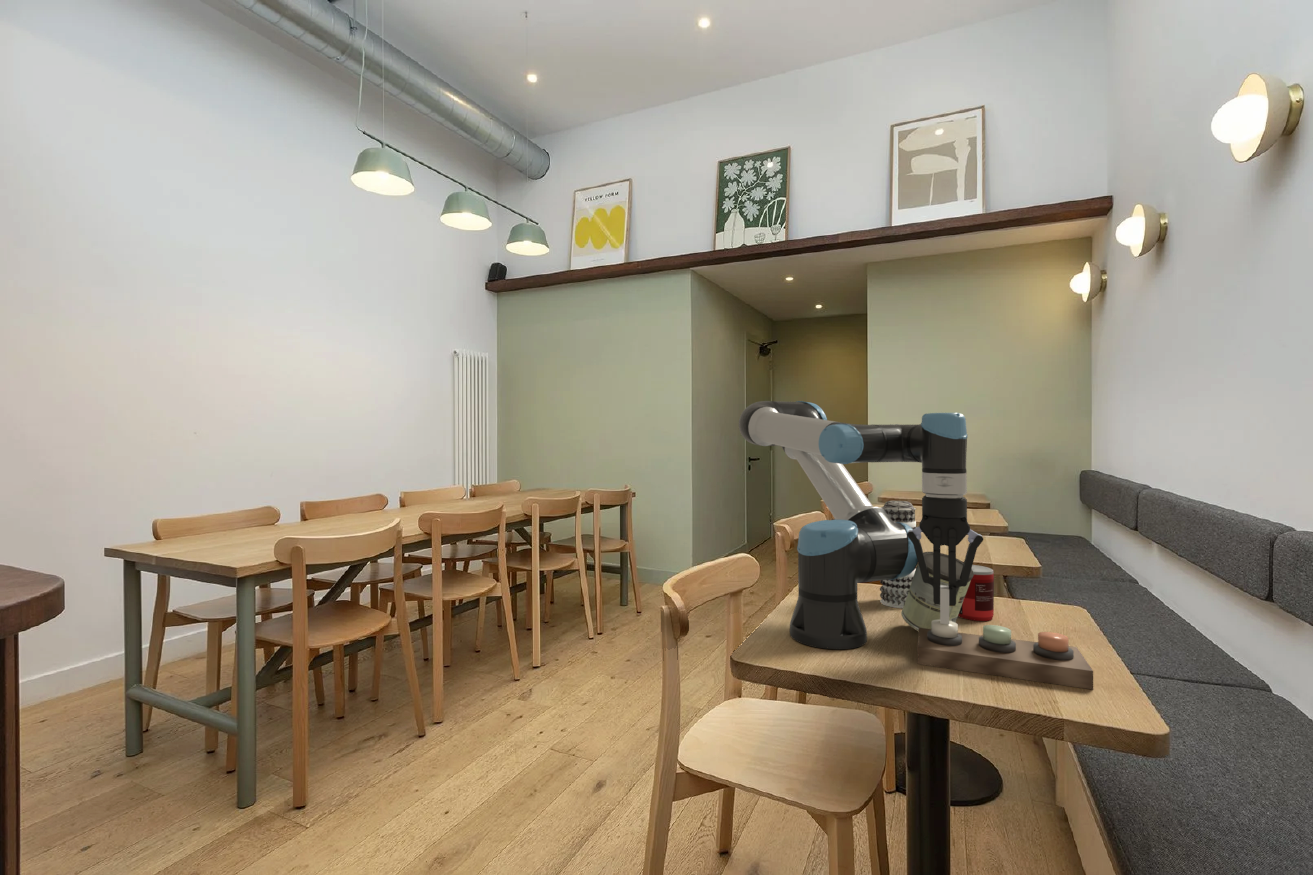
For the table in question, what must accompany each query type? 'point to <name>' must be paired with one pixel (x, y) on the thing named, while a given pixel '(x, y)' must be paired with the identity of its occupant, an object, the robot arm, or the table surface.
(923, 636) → the button panel
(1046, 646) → the button terracotta
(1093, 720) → the table surface
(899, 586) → the decorative candle
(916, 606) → the coffee can
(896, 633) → the table surface
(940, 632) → the button cream
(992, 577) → the canned food
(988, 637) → the button green
